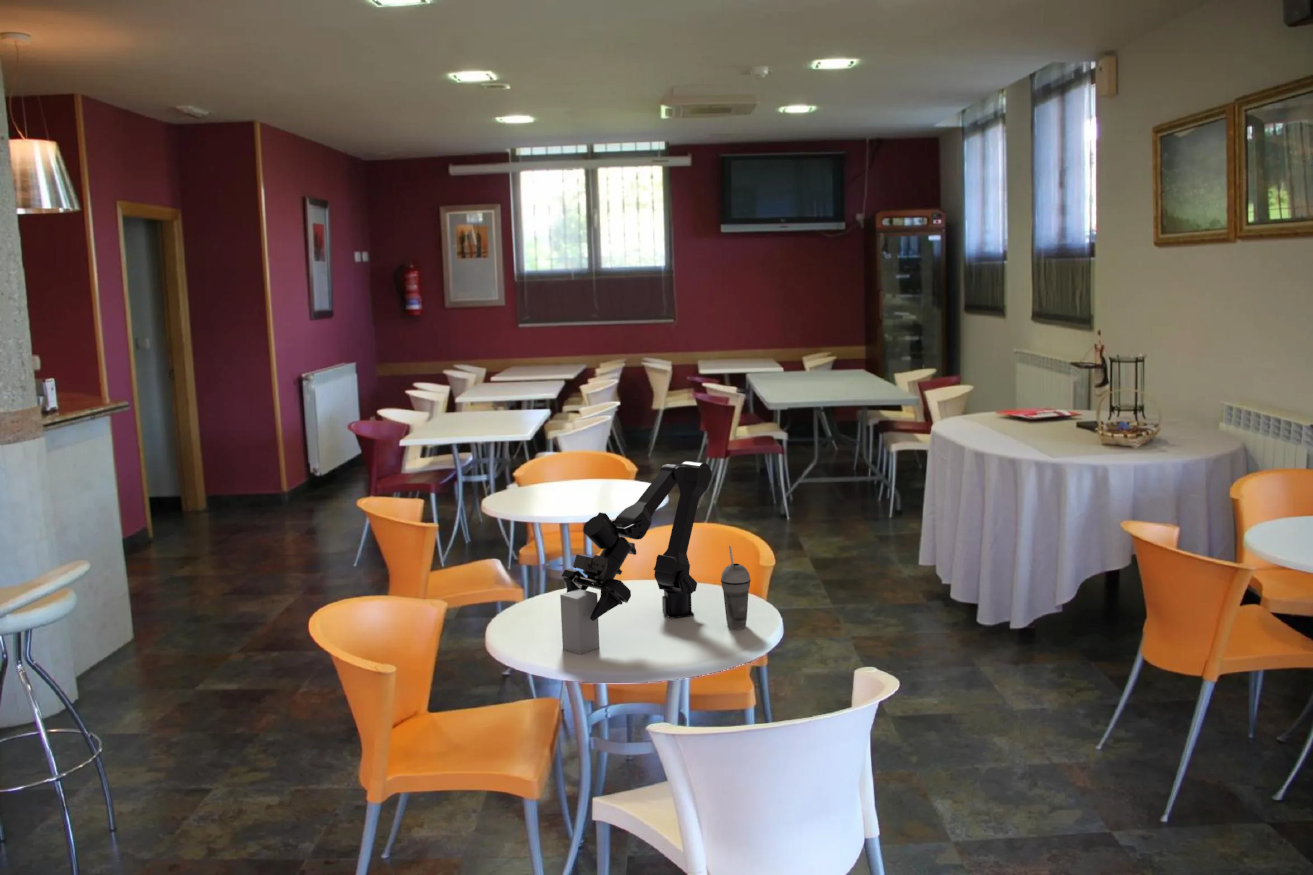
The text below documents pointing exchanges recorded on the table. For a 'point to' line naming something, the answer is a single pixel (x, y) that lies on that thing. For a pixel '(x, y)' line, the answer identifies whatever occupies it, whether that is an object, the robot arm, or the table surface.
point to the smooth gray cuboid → (579, 621)
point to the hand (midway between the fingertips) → (577, 615)
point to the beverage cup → (735, 594)
